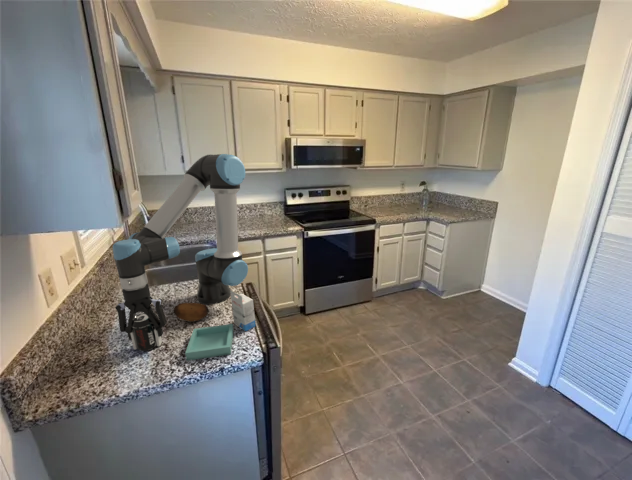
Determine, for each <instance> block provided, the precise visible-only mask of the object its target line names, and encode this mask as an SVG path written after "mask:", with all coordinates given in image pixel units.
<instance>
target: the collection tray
mask: <svg viewBox="0 0 632 480" xmlns="http://www.w3.org/2000/svg"><path fill="white" fill-rule="evenodd" d="M234 330H235V329H234V324H233V323H228V324H227V323H226V324H221V325H213V326H206V327H205V326H204V327H198V328H193V330H192V332H191V336H190V338H189V341H188V345H187V347H186V350H185V352H184V353H185V354H184V355H185V359H186V361H187V362H188V361H189V362H190V361H194V360H202V359H210V358H216V357H222V356H229V355H232V347H233V339H234Z"/></svg>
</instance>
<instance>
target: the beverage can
mask: <svg viewBox="0 0 632 480" xmlns="http://www.w3.org/2000/svg"><path fill="white" fill-rule="evenodd" d="M131 325H132V329H133V334H134V338H135V342H136V346H137V349H136V350H138V351H142V352H148V351H150V350H153V349H154V348H156V347H157V342H156V337H155V333H154V329H155V326H154V325H153V323H152V321H151V320H150V319H149V318H148V316H147V315H146V314H145V313H144V312H140V313H138V314H136V316H135V318H134V319H133V322H132V324H131Z"/></svg>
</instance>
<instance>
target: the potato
mask: <svg viewBox="0 0 632 480" xmlns="http://www.w3.org/2000/svg"><path fill="white" fill-rule="evenodd" d="M172 311H173V314H174V315H175V317H176V318H178V319H180V320H182V321H186V322H190V323H191V322H198V321H201V320H202V319H204V318H205V317H206V316H208V315H209V312H210V309H209V307H208V306H207V304H203V303H200V302H183V303H178V304H177V305H175V306H174V308H173V309H172Z"/></svg>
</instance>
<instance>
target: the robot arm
mask: <svg viewBox="0 0 632 480" xmlns="http://www.w3.org/2000/svg"><path fill="white" fill-rule="evenodd" d="M245 178H246V168H245V165H244V162H243V161H242V160H241V158H239V157H238V156H236V155H233V154H230V153H229V154H228V153H221V154H220V153H219V154H206V155H203V156H201V157H200V158H198V159H197V160H196V161H195V162H194V163H192V165H191V166H190V167H189V168H188V170H186V172H185V173H184V174H183V180H182V181H181V182H180V183H179V184H178V186H177V187H176V188H175V189H174V191H172V193H171V194H170V196H169V197H167V199H166V200H165V201H164V202H163V204H162V205H161V206H160V207H159V208H158V209H157V211H156V212H155V213H154V214H153V215H152V217H151V218H150V219H149V220H148V222H147V223H145V225H144V226H143V227H142V228H141V229H140V231H139V232H134V233H133V234H131V235H130V236H129V237H128V239H123V240H118V241H116V242H114V244H113V245H112V253H113V254H112V255H113V259H114V263H115V265H116V266H115V267H116V269H117V274H118V279H119V282H120V287H121V289H122V290H121V291H122V296H123V299H124V301H123V302H118V304H117V305H116V306H115V310H116V312H117V316H118V325H119V331H120V333H127V337H128V340H129V341H131V342H132V345H133V350H138V349H137V346H136V342H135V338H134V334H133V329H132V325H131V324H132V322H133V319H134V318H135V316H136V315H137V313H138V314H139V313H145V314H146V315H147V316H148V318H149V319H150V320H151V321H152V323H153V325H154V326H155V329H154V333H155V337H156V342H157V345H156V347H160V346H161V344H162V343H163V340H162V336H163V334H164V332H163V331H164V330H163V328H164V327H166V324H167V323H168V320H167V317H166V314H165V311H164V308H163V306H162V301H163V299H162V298H158V299H154V298H153V297H152V295H151V291H150V286H149V284H148V283H149V282H148V276H147V271H146V266H149V265H153V264H156V263H160V262H163V261H168V260H171V259H173V258H176V257H178V256H179V255H180V252H181V248H180V244H179V242H178V240H177V239H176V238H175V237H174V236H166V237H165V235H166V234H167V233H168V232H169V230H170V229H171V228H172V226H174V225H175V223H176V221H178V220H179V219H180V217H181V216H182V214H184V212H185V211H186V210H187V208H188V207H189V206H190V204H191V203H192V202H193V200H194V199H195V198H196V197H197V196H198V194H199V193H200V192H201V191H202V192H204V191H205V190H206V188H208V186H209V188H210V191H212V193H214V209H215V211H214V213H215V227H216V228H215V229H216V230H215V231H216V234H215V235H216V248H215V247H213V248H207V249H203V250H200V251H198V252H197V253H196V254H195V255H194V259H195V261H194V262H195V266H196V267H195V268H196V271H197V273H196V274H197V278H198V288H197V293H196V299H197V301H198V302H197V303H200V304H204V305H213V304H218V303H222V302H224V301H226V300H228V299H229V298H231V292H230V291H232V290H231V287H236V286H239V285H240V284H242V282H244V281H245V279H246V278H247V276H248V272H249V266H248V264H247V262H246V261H244V260H243V253H242V251H241V250H240V249H239V234H238V233H239V231H238V230H239V229H238V205H237V204H238V202H237V201H238V200H237V193H238V192H239V191H240V190H241V184H242V183H243V182H244V180H245ZM151 304H153V307H155V311H154V310H153V307H152V306H151ZM126 308H127V309H128V310H129V313H128V315H129V317H128V322H127V314H126ZM155 312H156V313H155Z"/></svg>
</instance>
